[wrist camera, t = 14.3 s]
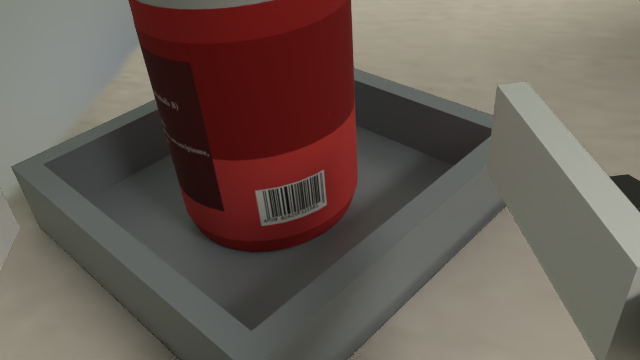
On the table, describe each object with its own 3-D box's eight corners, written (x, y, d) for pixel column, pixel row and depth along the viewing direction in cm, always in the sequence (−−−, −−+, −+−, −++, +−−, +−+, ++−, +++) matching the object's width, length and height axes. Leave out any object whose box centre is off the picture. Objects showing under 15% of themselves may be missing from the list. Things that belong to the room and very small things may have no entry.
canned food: (384, 168, 28) (382, -75, 21) (306, 280, 22) (270, -1, 16) (251, 137, 31) (213, -83, 24) (153, 230, 25) (70, -23, 19)
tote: (283, 94, 36) (277, 42, 34) (519, 192, 27) (530, 128, 25) (40, 226, 28) (11, 166, 25) (264, 439, 18) (247, 372, 16)
